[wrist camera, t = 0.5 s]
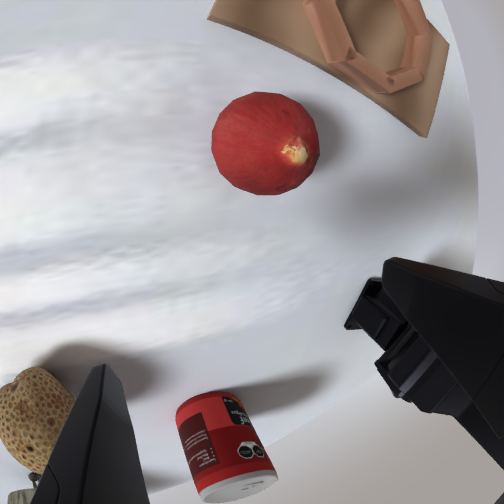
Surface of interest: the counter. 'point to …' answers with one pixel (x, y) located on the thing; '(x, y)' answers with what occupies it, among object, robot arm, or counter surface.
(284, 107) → the onion
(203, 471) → the canned food
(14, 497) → the tabletop clock
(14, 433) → the natural sponge
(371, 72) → the onion holder
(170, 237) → the counter surface
